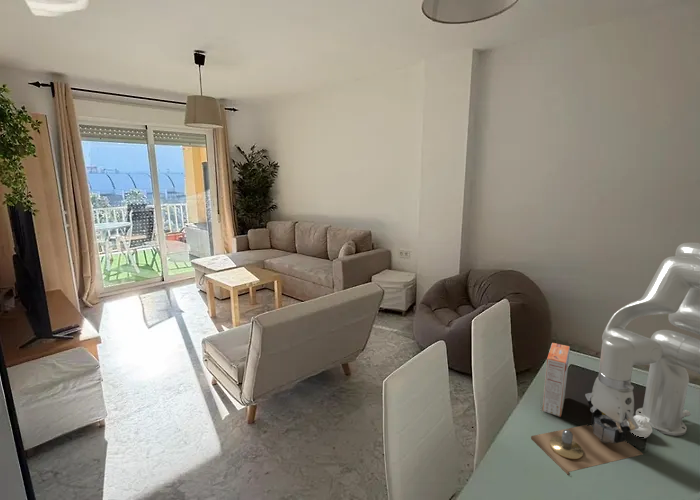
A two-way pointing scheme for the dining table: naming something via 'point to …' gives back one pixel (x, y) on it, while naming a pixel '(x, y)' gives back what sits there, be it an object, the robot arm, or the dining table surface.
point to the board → (586, 449)
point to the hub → (566, 446)
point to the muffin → (641, 427)
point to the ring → (605, 428)
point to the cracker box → (556, 379)
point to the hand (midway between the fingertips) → (607, 432)
